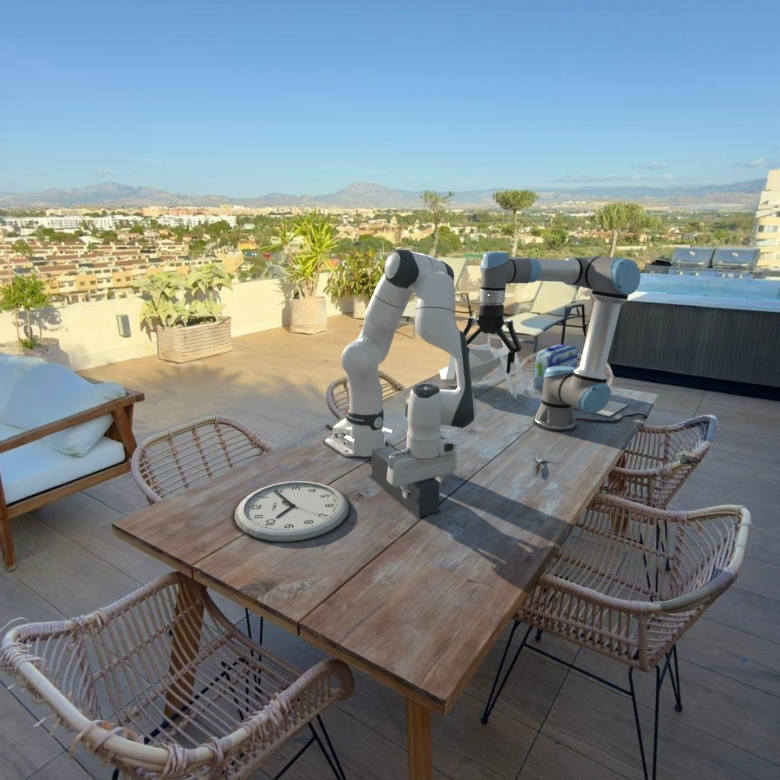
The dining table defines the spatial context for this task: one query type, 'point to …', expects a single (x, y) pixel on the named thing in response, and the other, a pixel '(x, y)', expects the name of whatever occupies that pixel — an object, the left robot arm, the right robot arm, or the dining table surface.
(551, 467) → the dining table surface
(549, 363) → the lunch box
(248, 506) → the wall clock
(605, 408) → the invitation card
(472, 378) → the white plastic object
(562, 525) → the dining table surface
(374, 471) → the box
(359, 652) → the dining table surface
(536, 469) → the fork
